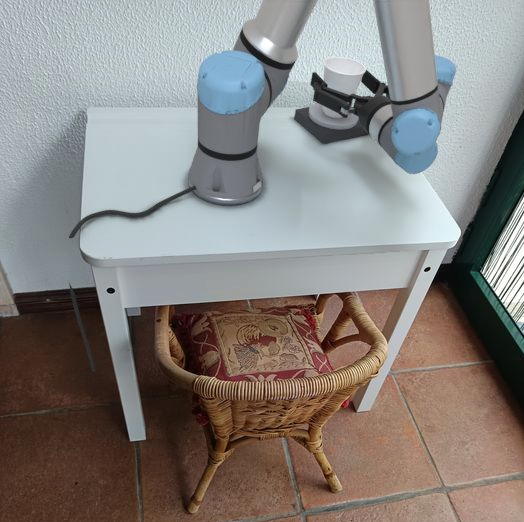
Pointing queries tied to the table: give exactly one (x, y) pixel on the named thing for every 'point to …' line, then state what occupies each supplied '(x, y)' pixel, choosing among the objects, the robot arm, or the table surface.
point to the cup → (342, 77)
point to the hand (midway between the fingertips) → (338, 77)
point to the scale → (328, 124)
